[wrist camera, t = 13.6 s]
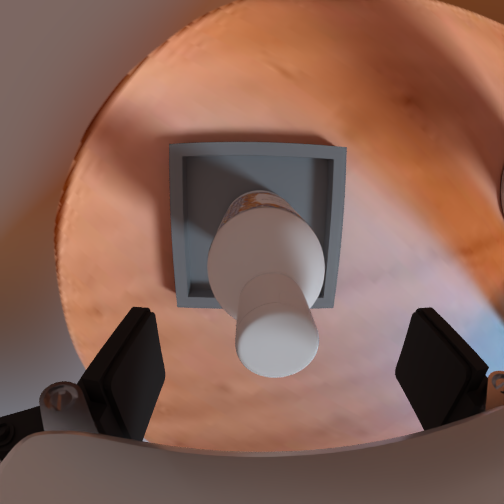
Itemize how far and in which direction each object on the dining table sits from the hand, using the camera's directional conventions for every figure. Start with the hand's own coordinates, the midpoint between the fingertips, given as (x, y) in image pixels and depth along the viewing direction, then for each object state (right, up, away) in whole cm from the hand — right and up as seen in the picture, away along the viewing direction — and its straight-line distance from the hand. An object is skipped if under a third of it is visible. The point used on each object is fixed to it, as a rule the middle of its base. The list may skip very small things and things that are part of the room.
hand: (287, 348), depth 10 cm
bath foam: (-1, +6, +19) cm, 20 cm away
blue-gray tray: (-1, +6, +20) cm, 21 cm away
